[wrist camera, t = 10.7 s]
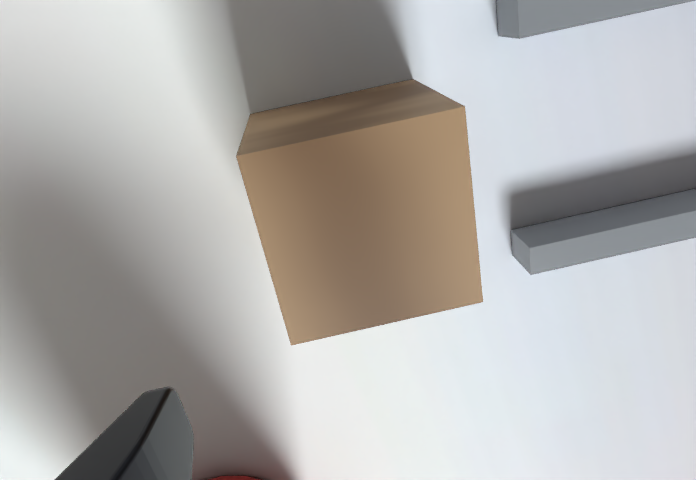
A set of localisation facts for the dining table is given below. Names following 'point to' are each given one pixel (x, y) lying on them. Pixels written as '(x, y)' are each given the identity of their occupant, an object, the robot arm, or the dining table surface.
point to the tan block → (364, 207)
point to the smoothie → (234, 478)
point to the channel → (608, 224)
